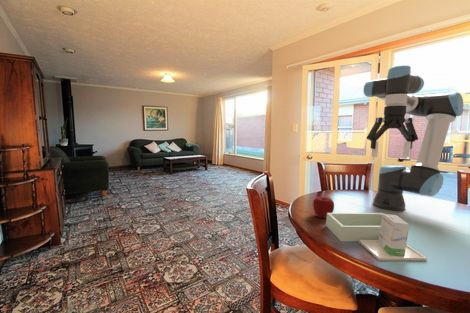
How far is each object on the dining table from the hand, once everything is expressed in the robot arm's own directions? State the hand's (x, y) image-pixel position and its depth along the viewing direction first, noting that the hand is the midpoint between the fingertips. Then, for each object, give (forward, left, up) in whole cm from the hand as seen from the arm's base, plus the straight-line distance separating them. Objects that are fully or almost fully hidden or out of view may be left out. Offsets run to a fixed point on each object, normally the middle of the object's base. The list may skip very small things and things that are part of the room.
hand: (390, 156), depth 97 cm
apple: (+22, -12, -32) cm, 41 cm away
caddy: (+12, +5, -32) cm, 34 cm away
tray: (+10, +19, -32) cm, 38 cm away
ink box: (+10, +19, -31) cm, 38 cm away
